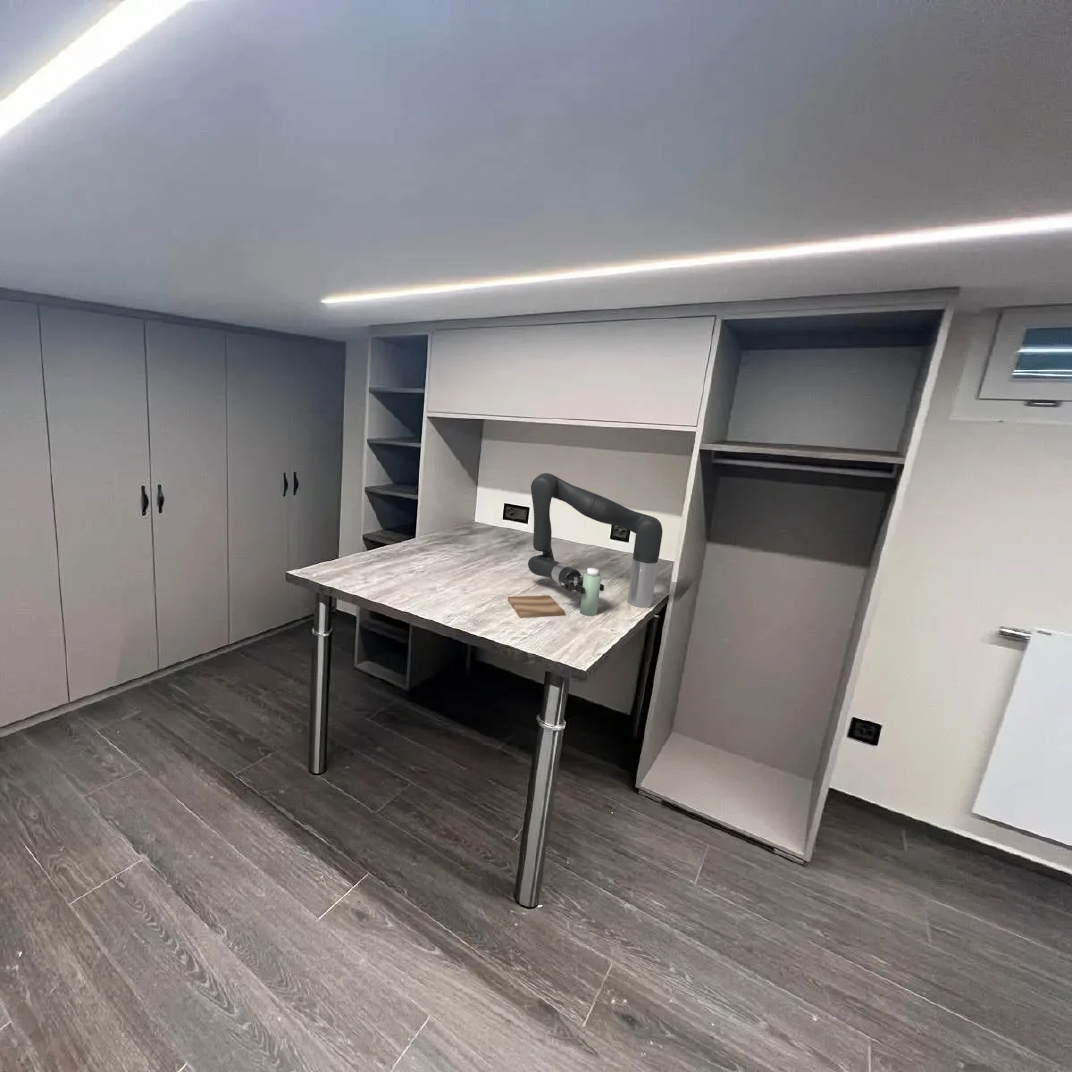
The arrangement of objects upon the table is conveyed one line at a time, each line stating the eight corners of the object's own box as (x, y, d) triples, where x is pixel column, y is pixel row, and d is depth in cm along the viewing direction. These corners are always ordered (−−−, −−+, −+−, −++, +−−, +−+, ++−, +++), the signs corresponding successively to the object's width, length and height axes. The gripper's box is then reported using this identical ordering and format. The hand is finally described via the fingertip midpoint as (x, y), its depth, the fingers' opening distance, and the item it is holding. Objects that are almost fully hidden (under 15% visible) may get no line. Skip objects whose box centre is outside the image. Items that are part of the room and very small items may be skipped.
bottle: (583, 608, 180) (588, 565, 177) (599, 612, 178) (604, 569, 174) (577, 613, 175) (581, 569, 171) (593, 617, 172) (598, 573, 169)
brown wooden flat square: (507, 600, 182) (507, 596, 181) (549, 598, 187) (549, 595, 187) (520, 617, 167) (520, 613, 167) (564, 615, 172) (565, 611, 172)
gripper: (551, 568, 181) (578, 581, 168) (581, 564, 189) (610, 577, 176) (549, 587, 183) (576, 602, 170) (580, 583, 191) (608, 597, 178)
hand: (593, 589), depth 173 cm, fingers open, 8 cm apart
